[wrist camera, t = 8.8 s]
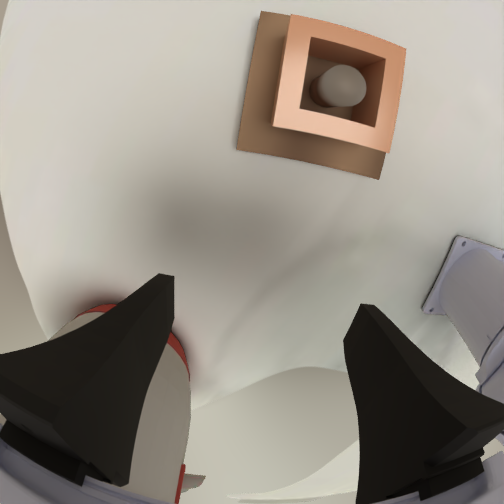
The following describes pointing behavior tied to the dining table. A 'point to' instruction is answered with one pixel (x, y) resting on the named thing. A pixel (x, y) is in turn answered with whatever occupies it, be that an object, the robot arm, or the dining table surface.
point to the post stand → (302, 106)
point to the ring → (348, 53)
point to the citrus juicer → (157, 423)
